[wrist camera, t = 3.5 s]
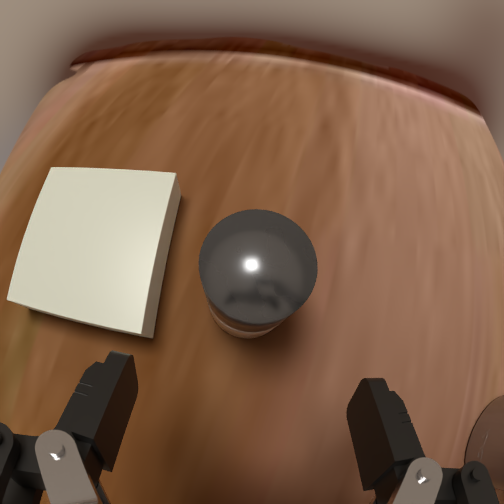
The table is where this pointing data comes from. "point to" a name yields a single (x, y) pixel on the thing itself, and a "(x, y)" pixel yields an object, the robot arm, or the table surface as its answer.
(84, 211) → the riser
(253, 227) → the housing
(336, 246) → the table surface
